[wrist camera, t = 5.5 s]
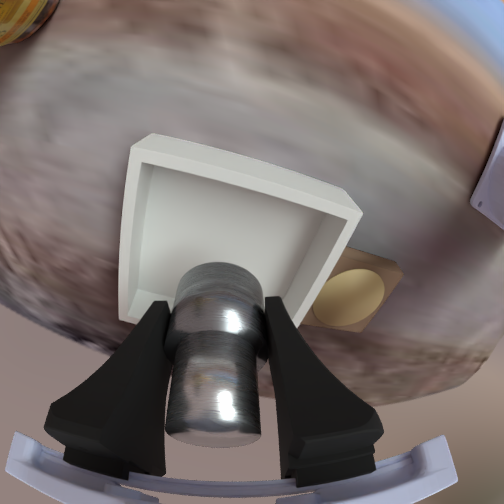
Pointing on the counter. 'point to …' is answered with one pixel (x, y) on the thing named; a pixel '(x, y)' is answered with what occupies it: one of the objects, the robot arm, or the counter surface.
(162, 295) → the bin
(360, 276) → the stud block
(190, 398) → the silver metal knob
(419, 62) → the counter surface
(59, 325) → the counter surface
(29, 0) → the sauce bottle
